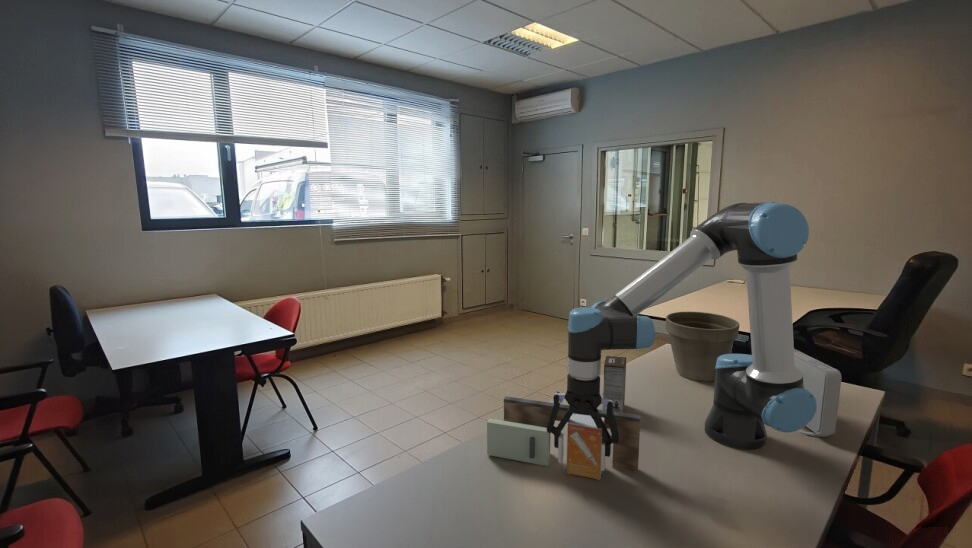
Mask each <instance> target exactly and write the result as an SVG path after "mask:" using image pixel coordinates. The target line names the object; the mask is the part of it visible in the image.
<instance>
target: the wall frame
mask: <svg viewBox="0 0 972 548" xmlns="http://www.w3.org/2000/svg"><path fill="white" fill-rule="evenodd" d="M553 406H554V402H549V401H542V400H541V401H540V400H535V399H533V400H532V399H527V398H519V397H513V396H504V398H503V421H508V422H514V423H521V424H527V425H533V426H539V427H545V428H547V427H548V423H549V420H550V416H551V413H552V409H553ZM569 407H570V405H569V404H562V403H560V406H559V410H558V413H557V416H556V420H555V422H557V421H558V422H560V421H561V420H562V418H563V417H564V415H565V413H566V412H567V410H568V409H569ZM598 411H599V414H600V416H601V417H604V418H605V426H606V428H607V430H610V426H609V421H608V417H607V411H605V410H603V409H598ZM574 413H576V412H575V411H574ZM577 414H583V413H577ZM584 415H586V414H584ZM589 415H590V414H589ZM614 416H615V421H616V425H617V429H618V434H619V441H618V443H617V444H615V443H612V464H611V468H613V469H619V470H624V471H631V472H635V473H636V472H637V473H638V472H639V459H640V458H639V457H640V437H641V435H640V433H641V415H640V414H634V413H625V412H624V413H619V412H614ZM569 420H570V419H569ZM569 420H568V422H569ZM568 422H567V423H568Z"/></svg>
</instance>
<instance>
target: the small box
mask: <svg viewBox="0 0 972 548" xmlns="http://www.w3.org/2000/svg"><path fill="white" fill-rule="evenodd" d="M601 418H602V420H603V422H604V424H605V418H604V417H601ZM602 440H603V438H602V429H599V428H597V426H596V424H595V422H594V420H593V419H592V417H591V415H584V414H577V413H573V414H572V416H571V417H570V420H569V422H567V441H566V443H567V444H566V445H567V446H566V474H568V475H573V476H578V477H579V476H580V477H585V478H589V479H595V480H597V481H600V480H601V477H602V473H603V471H601V449H602Z"/></svg>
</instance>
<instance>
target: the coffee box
mask: <svg viewBox="0 0 972 548" xmlns="http://www.w3.org/2000/svg"><path fill="white" fill-rule="evenodd" d="M603 364H604V365H603V392H602V393H603V394H602V398H603V399H607V400H609V399H610V398H612V399H613V400H614V402H613V412H619V413H625V398H626V381H627V380H626V378H627V377H626V376H627V357H624V356H614V355H612V356H611V355H606V356H605V359H604V363H603ZM602 410H605V411H607V409H604V406H603V405H602Z"/></svg>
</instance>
